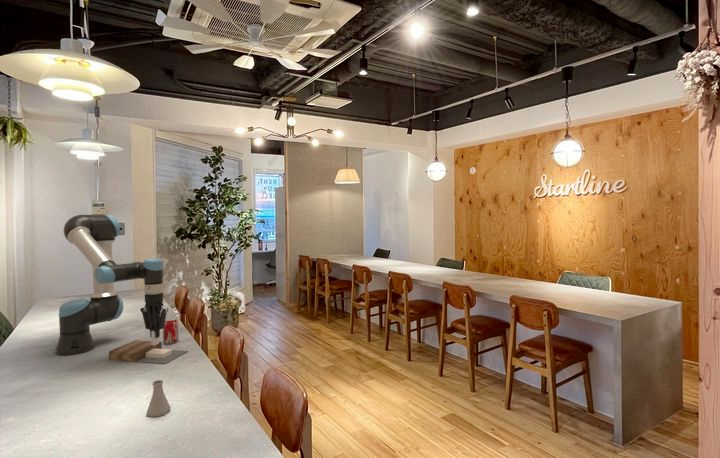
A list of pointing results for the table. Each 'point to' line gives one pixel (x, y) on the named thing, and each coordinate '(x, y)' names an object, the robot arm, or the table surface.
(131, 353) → the deck
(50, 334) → the table surface
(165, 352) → the tile
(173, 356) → the mat
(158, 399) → the flask
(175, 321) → the soda can
